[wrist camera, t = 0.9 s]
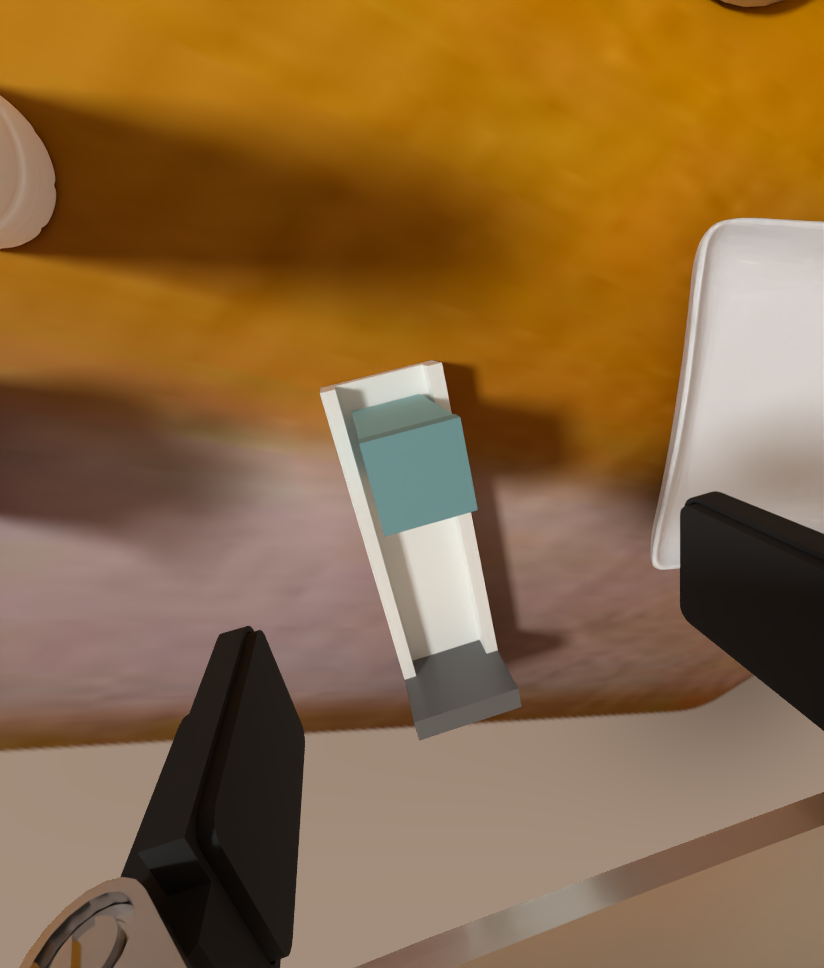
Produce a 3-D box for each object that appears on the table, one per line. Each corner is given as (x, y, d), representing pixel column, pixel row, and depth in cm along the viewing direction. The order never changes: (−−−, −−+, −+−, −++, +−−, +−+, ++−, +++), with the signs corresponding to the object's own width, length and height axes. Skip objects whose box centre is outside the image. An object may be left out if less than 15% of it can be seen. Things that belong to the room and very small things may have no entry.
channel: (431, 360, 26) (460, 366, 20) (488, 643, 33) (521, 706, 27) (320, 387, 25) (318, 402, 20) (403, 670, 32) (419, 740, 27)
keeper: (420, 392, 25) (460, 417, 17) (435, 460, 26) (477, 510, 19) (350, 410, 24) (358, 443, 17) (368, 478, 26) (384, 536, 18)
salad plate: (949, 232, 29) (1025, 219, 26) (855, 524, 36) (906, 542, 33) (664, 230, 26) (711, 215, 23) (620, 551, 33) (651, 574, 30)
